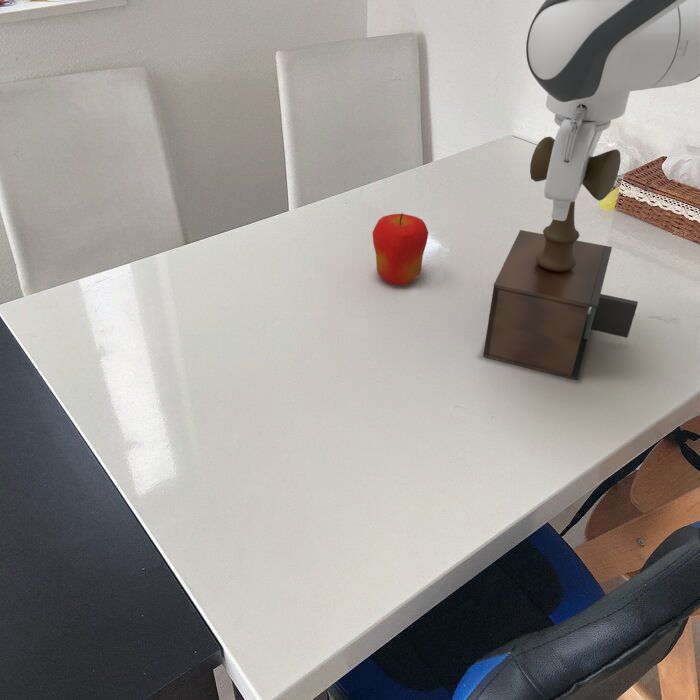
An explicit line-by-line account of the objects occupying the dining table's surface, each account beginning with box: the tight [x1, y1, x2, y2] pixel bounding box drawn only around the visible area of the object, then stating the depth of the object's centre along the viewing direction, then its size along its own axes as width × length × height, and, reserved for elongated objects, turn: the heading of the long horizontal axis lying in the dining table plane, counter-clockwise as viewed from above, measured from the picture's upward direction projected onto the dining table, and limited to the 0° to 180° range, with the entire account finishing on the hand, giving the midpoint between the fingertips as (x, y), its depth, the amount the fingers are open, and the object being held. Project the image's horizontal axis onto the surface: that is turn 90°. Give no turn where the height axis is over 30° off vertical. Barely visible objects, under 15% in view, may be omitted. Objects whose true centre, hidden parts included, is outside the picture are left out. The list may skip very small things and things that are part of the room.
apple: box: [372, 212, 429, 286], centre depth 108 cm, size 9×8×12 cm
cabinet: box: [482, 229, 613, 381], centre depth 95 cm, size 13×16×12 cm
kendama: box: [529, 136, 622, 272], centre depth 85 cm, size 6×10×20 cm, turn 50°
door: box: [584, 293, 639, 340], centre depth 96 cm, size 6×8×11 cm, turn 157°
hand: (564, 205), depth 86 cm, fingers closed on kendama, 6 cm apart
